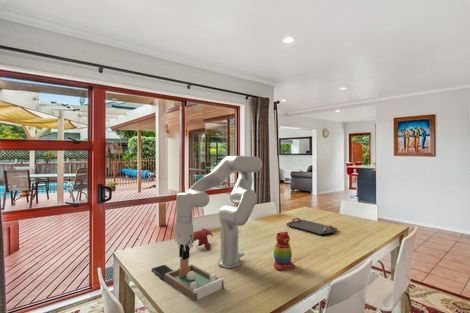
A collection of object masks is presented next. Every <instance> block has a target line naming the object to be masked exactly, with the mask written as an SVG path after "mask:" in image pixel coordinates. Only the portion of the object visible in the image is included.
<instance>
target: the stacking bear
mask: <svg viewBox="0 0 470 313" xmlns="http://www.w3.org/2000/svg"><path fill="white" fill-rule="evenodd" d="M275 237H276V238H275V239H276V243H275V245H274V248H273V258H274V262H273V267H274V269H275V270H276V271H279V272H280V271H281V272H282V271H284V270H295V269H296V265H295V263H293V262H291V261H292V258H293V257H292V254H293V253H292V247H291V244H290V243H289V242H290V240H291V238H290V237H291V236H290V235H289V232H288V231H284V232H283V231H282V232H281V231H280V232H277V233H276V236H275Z"/></svg>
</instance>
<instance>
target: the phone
mask: <svg viewBox="0 0 470 313" xmlns="http://www.w3.org/2000/svg"><path fill="white" fill-rule="evenodd" d="M151 270H152V271H151V272H152V273H153V272H154V273H155V274H154V273H153V274H154V275H156V276H157V277H158V278H159V279H160V280H161V279H162V281H163V282H164V281H165V279H164V274H165V273H168V272H171V271H174V270H173V269H171V267H169V266H168V265H166V264H163V265H158V266H156V267H152V268H151ZM165 282H166V281H165Z"/></svg>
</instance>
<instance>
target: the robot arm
mask: <svg viewBox="0 0 470 313" xmlns="http://www.w3.org/2000/svg"><path fill="white" fill-rule="evenodd" d="M262 167H263V161H262V159H261V158H260V157H259V156H253V155H252V156H247V155H245V156H244V155H227V156H225V157H224V158H223V159H221V161H220V162H219V163H218V164H217V165H216V166H215V167H214V169H213V170H212V171H210V172H209V173H208V174H206V175H204V176H203V177H201V178H200V179H198V180H197V181H195V183H193V184H192V186H190V188H188V190H187V191H186V192H184V191H183V192H182V191H181V192H178V193H176V200H175V202H176V204H175V206H176V209H175V210H176V211H175V212H176V213H175V214H176V215H175V217H176V218H175V219H176V220H175V224H174V225H175V226H174V236H173V237H174V239H173V240H174V241H175V242H176V243H177V244H178V249H179V250H178V251H179V253H178V254H179V255H178V257H179V258H180V259H181V258H182V248H183V247H184V251H183V259H188V258H189V259H190V251H191V248H193V247H194V244H193V240H194V225H193V208H203V207H206V206H208V204H209V202H210V196H209V194H208V193H207V191H208V190H210V189H213V188H217V187H220V186H221V185H223V184H224V183H225V181H226V180H227V179H228V178H229V177H230V176H231V175H232V174H233V173H234V172H235V173H238V177H237V180H236V182H235V185H234V187H233V188H232V190H231V192H230V194H229V195H230V196H229V200H230V204H226V203H225V204H224V205H222V206H221V207H220V208H219V211H218V218H219V224H220V258H219V259H218V260H217V264H218V266H219V267H221V268H224V269H233V268H234V269H235V268H238V267H239V266H241V264H242V260H241V259H240V258H242V257H244V256H245V252H240V253H239V227H242V226H244V225H246V224H247V223H248V221H249V218H250V217H251V215H252V212H253V210H254V209H255V206H256V204H257V193H256V192H255V191H254V190H253V189H252V185H253V181H254V180H253V175H252V173H257V172H259V171H260V170H262ZM231 203H232V204H231ZM186 245H188V246H187V247H186Z"/></svg>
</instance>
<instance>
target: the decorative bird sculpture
mask: <svg viewBox="0 0 470 313" xmlns="http://www.w3.org/2000/svg"><path fill="white" fill-rule="evenodd" d="M193 234H194V240H193V243H195V242H196V241H198V244H197V245H196V246H195V248H196V249H198V247H201V246H203V245H204V246H203V248H205V249H206V250H207V251H210V249H211V247H212V244H211V243H210V242H209V239H208V236H211V237H212V238H214V235H213V233H212V231H211V230H209V229H207V228H201V230H198V231H193ZM187 246H188V245H186V247H187Z"/></svg>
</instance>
